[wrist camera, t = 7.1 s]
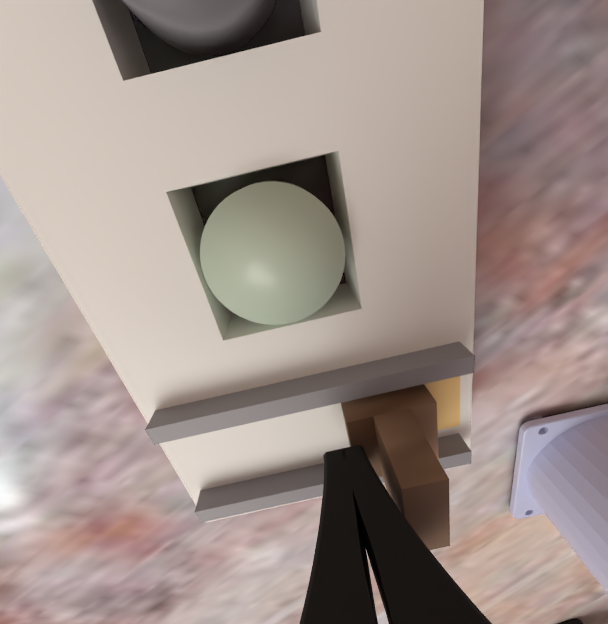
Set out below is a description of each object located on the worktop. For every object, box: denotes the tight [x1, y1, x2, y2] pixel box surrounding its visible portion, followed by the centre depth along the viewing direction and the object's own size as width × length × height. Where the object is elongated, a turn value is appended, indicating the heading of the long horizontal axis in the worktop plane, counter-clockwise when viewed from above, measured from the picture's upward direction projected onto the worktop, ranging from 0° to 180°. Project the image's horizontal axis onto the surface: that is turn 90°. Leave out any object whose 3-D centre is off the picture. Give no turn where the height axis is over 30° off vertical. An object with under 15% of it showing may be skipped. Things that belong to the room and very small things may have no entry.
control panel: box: [0, 0, 484, 523], centre depth 10 cm, size 12×22×3 cm, turn 12°
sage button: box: [200, 180, 345, 325], centre depth 10 cm, size 4×4×2 cm
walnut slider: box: [341, 384, 450, 550], centre depth 10 cm, size 3×3×4 cm
